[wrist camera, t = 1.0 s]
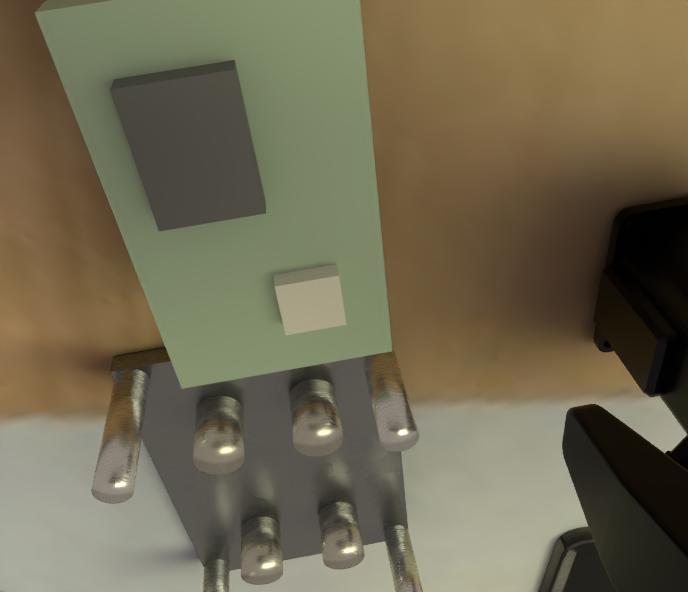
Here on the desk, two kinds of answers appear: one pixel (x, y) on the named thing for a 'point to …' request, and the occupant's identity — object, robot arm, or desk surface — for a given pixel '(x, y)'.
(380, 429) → the chassis
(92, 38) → the board
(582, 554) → the phone
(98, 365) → the desk surface
